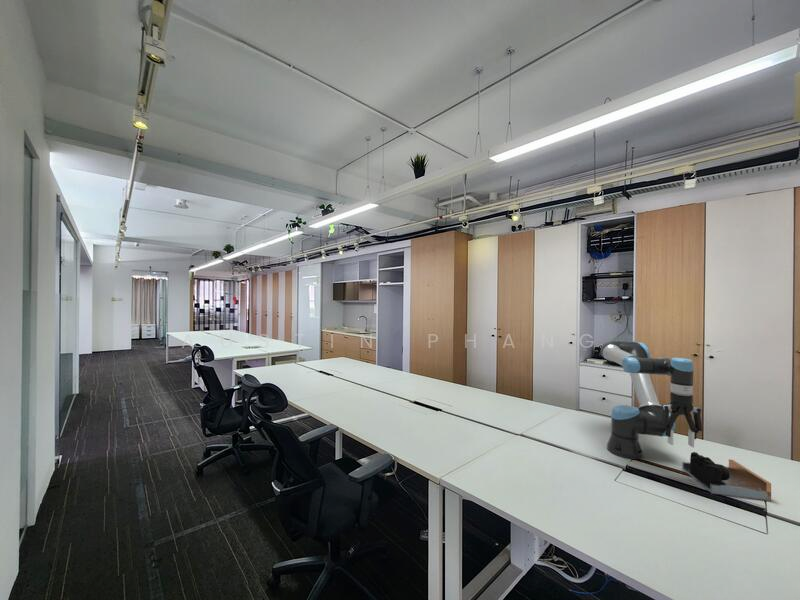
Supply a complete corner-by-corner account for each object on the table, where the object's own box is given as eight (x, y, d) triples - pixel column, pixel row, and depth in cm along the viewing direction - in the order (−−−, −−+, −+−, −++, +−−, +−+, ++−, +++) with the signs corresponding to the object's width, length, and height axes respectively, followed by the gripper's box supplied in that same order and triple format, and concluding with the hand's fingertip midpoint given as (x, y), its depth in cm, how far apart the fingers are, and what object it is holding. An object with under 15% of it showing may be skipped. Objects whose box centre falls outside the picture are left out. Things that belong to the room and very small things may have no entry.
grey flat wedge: (712, 493, 131) (712, 476, 131) (682, 469, 149) (682, 454, 149) (771, 501, 126) (771, 483, 126) (732, 475, 145) (732, 459, 145)
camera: (740, 491, 130) (741, 467, 130) (710, 488, 132) (711, 464, 132) (713, 473, 144) (713, 451, 144) (686, 471, 146) (687, 449, 146)
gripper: (660, 394, 140) (659, 445, 140) (714, 397, 135) (714, 451, 135) (650, 389, 147) (650, 438, 147) (702, 392, 143) (701, 443, 143)
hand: (680, 444), depth 141 cm, fingers open, 7 cm apart
